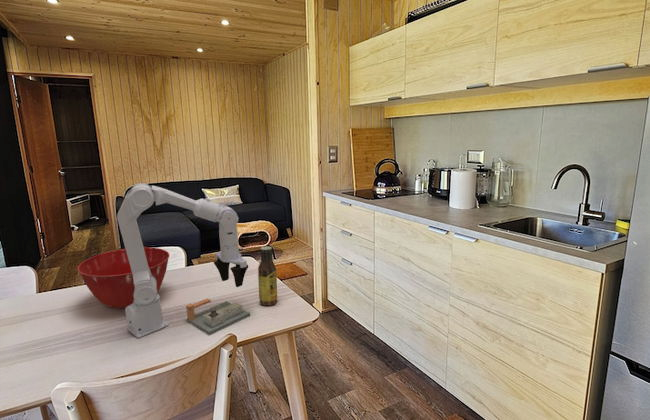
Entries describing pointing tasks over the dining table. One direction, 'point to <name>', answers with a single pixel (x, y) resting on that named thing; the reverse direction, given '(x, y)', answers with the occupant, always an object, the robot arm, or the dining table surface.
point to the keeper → (191, 307)
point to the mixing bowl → (119, 275)
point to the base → (220, 326)
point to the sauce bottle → (267, 278)
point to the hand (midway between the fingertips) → (232, 283)
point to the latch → (223, 314)
